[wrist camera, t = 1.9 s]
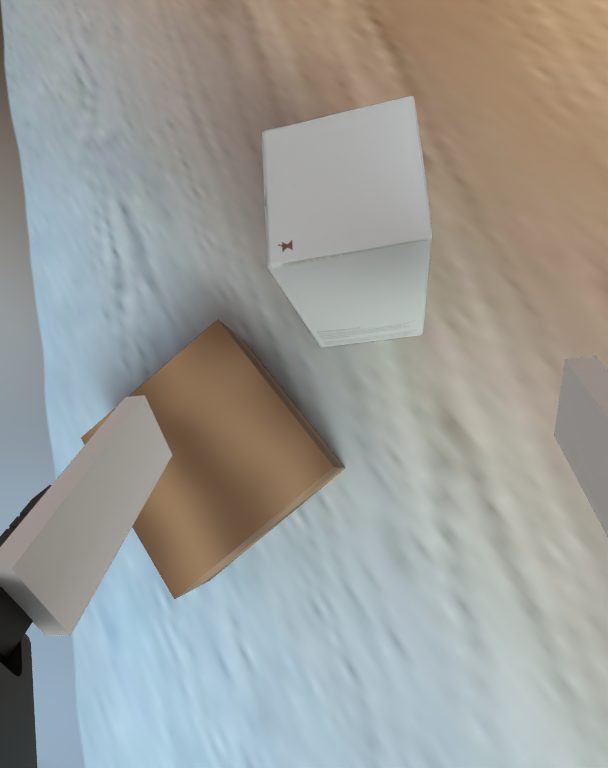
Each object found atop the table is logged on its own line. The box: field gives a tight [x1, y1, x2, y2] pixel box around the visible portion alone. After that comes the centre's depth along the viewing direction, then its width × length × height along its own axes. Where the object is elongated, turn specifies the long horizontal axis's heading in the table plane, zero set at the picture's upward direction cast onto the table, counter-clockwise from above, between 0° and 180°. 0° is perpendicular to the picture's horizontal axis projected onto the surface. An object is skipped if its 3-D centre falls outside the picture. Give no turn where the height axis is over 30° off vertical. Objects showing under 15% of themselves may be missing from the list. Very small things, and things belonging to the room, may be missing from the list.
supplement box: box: [262, 96, 433, 347], centre depth 25 cm, size 7×7×13 cm
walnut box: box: [81, 320, 345, 599], centre depth 29 cm, size 12×12×5 cm
